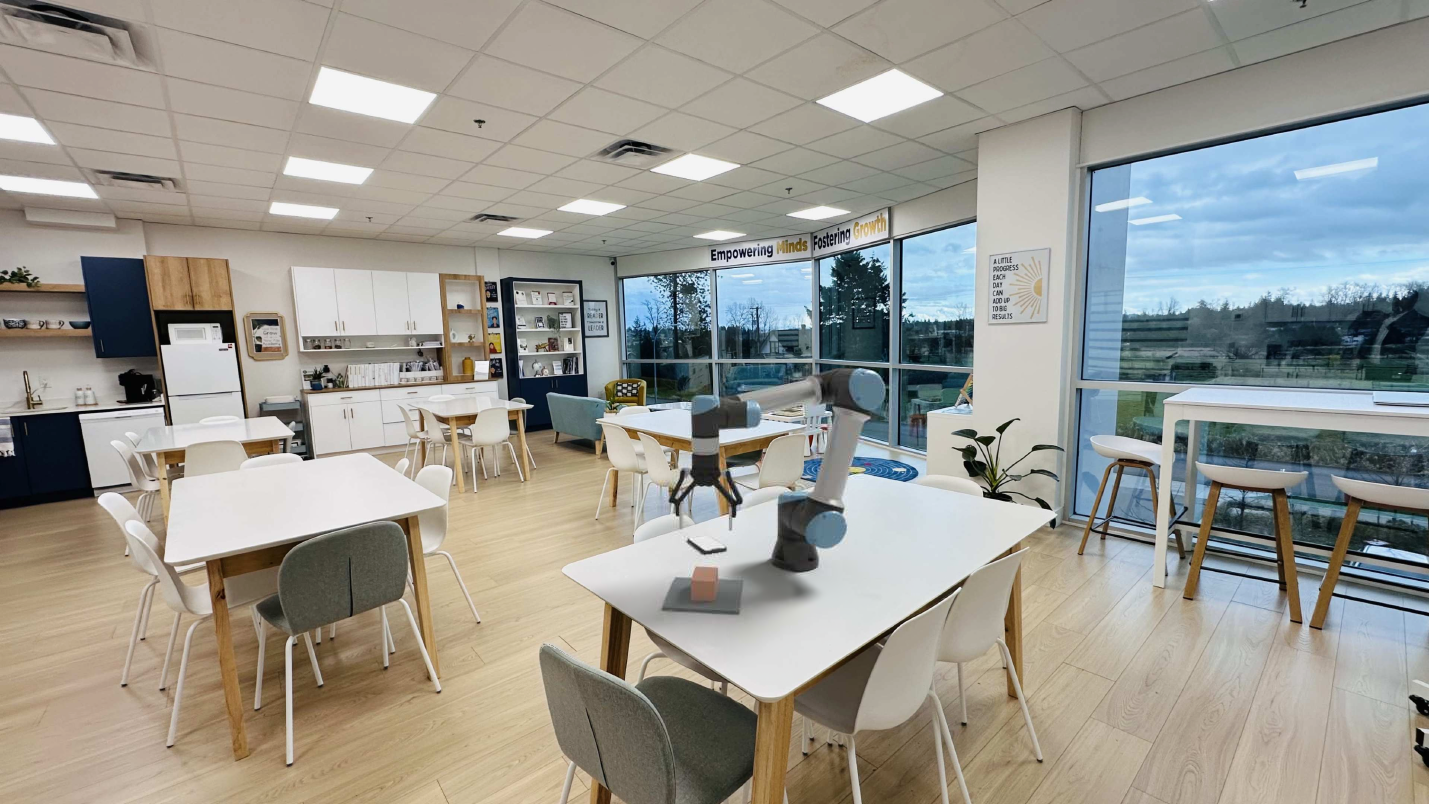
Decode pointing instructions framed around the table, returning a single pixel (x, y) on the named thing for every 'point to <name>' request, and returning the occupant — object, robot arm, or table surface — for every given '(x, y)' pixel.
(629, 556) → the table surface
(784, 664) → the table surface
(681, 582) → the mat
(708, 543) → the smartphone
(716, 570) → the card box
